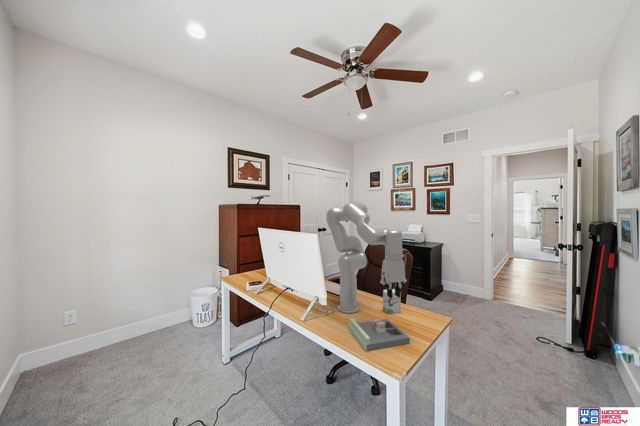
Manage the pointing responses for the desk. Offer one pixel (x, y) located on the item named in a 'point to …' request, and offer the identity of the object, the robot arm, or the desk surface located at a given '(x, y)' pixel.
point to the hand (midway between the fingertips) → (393, 296)
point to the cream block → (379, 326)
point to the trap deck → (377, 335)
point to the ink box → (391, 302)
